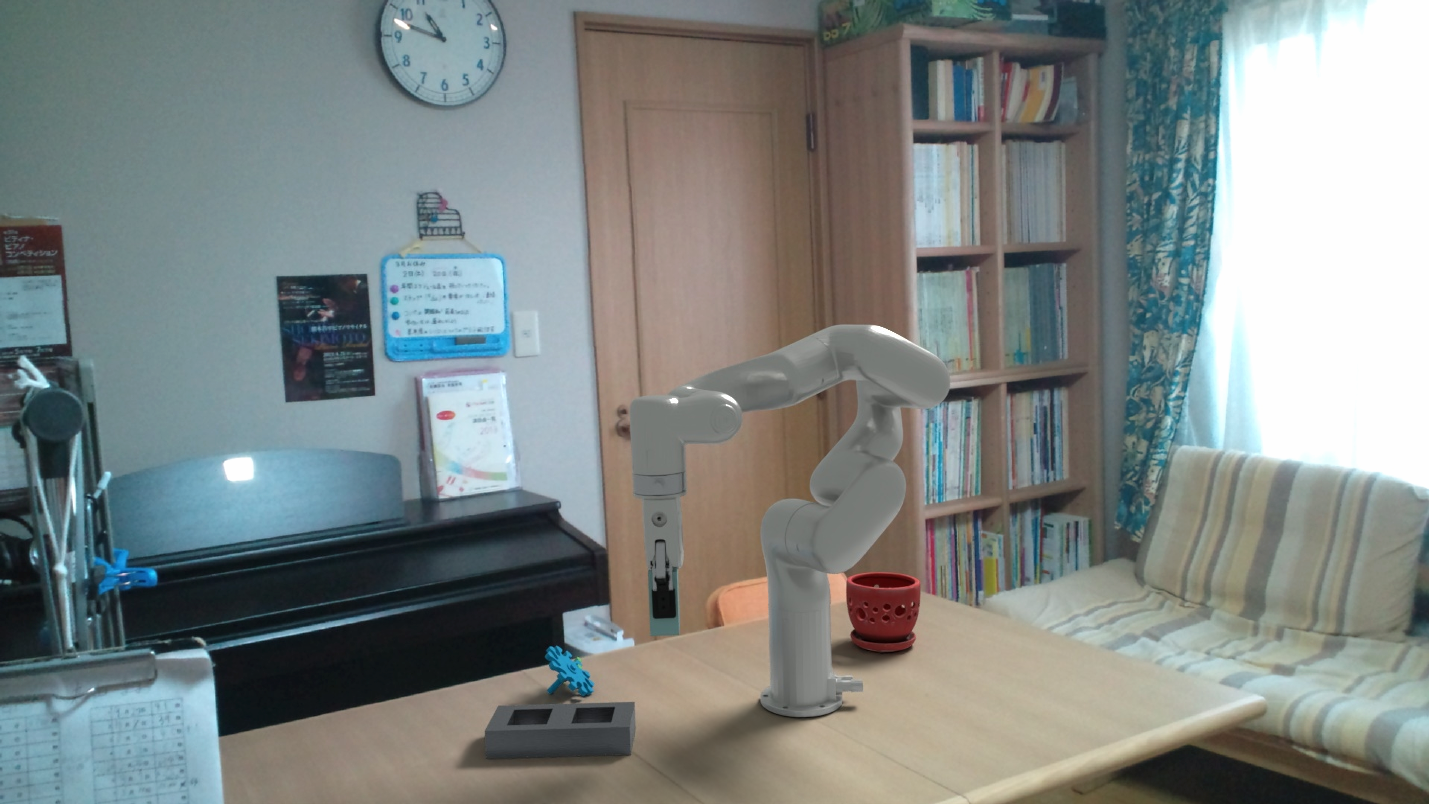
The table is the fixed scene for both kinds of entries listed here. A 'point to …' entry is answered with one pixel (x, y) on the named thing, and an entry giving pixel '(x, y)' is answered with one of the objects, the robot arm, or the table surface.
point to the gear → (568, 672)
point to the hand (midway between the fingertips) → (665, 611)
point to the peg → (667, 624)
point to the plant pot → (883, 610)
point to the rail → (561, 730)
